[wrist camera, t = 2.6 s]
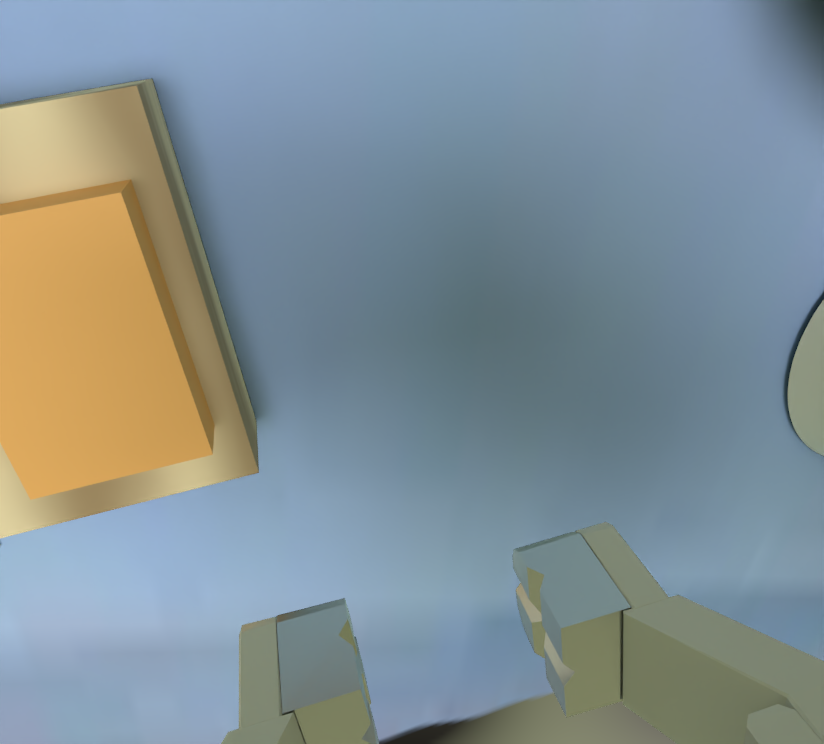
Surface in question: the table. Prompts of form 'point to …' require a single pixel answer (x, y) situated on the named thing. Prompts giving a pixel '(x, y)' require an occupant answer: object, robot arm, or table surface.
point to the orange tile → (91, 345)
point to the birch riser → (180, 262)
